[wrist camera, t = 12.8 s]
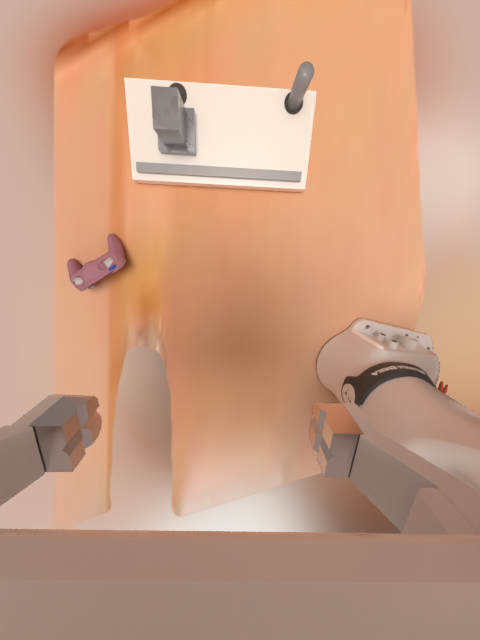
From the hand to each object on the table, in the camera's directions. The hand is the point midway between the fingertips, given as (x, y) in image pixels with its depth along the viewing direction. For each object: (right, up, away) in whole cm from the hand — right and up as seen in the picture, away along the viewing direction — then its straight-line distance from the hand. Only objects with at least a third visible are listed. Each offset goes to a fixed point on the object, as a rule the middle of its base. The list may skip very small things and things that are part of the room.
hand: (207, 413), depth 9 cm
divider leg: (-7, +31, +23) cm, 39 cm away
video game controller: (-22, +14, +31) cm, 41 cm away
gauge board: (-2, +30, +26) cm, 40 cm away
